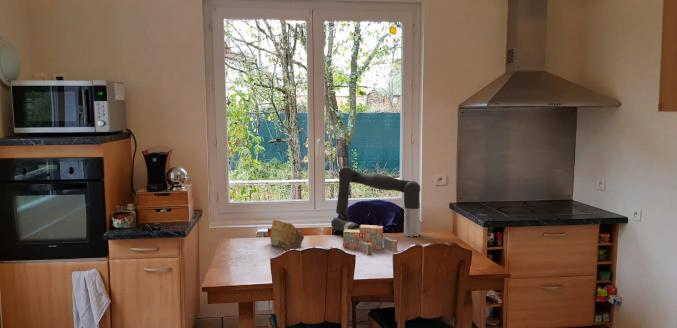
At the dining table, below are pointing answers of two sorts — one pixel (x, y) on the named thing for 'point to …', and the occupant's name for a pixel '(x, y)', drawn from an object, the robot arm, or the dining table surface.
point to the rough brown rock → (285, 235)
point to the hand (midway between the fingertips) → (367, 235)
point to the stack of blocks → (364, 237)
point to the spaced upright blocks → (367, 247)
